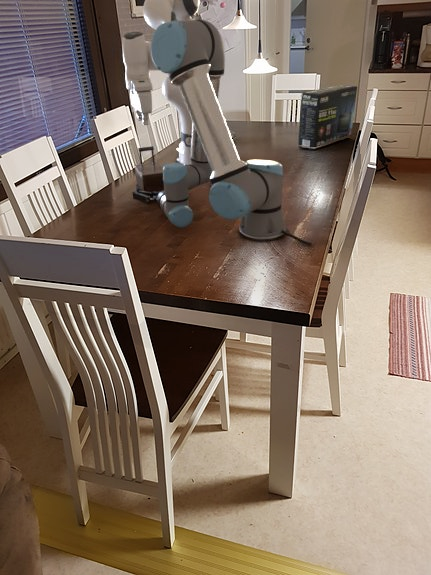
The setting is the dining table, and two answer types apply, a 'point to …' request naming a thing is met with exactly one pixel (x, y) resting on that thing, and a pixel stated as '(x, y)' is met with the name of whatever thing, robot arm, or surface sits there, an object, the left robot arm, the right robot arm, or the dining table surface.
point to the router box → (326, 115)
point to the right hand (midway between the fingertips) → (154, 185)
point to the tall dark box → (148, 165)
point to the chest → (150, 182)
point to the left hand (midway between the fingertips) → (142, 122)
